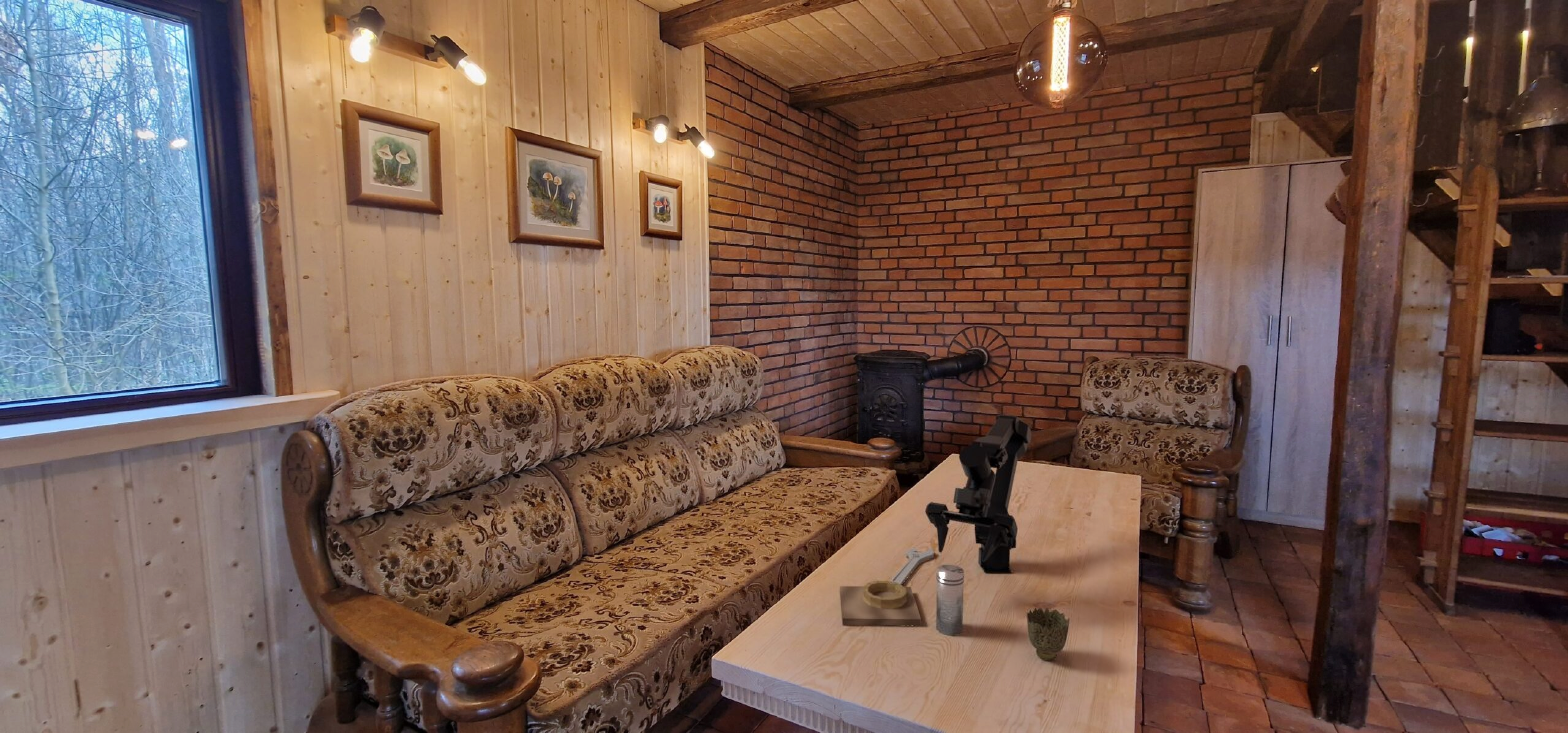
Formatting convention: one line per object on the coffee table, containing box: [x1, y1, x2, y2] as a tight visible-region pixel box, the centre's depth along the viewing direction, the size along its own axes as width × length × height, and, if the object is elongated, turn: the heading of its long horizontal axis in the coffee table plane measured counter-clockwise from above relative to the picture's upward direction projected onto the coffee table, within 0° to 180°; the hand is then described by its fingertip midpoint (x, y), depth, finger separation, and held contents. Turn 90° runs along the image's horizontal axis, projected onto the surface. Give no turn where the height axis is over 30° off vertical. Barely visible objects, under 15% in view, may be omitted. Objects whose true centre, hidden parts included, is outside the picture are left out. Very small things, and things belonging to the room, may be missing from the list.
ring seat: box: [839, 580, 922, 627], centre depth 146 cm, size 16×15×4 cm
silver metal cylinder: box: [935, 564, 965, 637], centre depth 136 cm, size 5×5×12 cm
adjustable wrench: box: [890, 546, 935, 586], centre depth 166 cm, size 25×6×2 cm, turn 147°
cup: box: [1026, 607, 1071, 662], centre depth 126 cm, size 8×7×8 cm
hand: (961, 556), depth 141 cm, fingers open, 9 cm apart
